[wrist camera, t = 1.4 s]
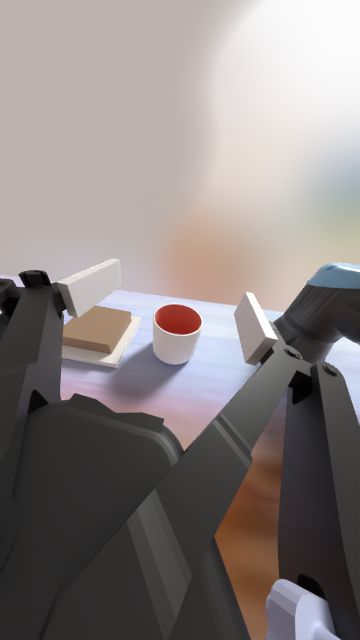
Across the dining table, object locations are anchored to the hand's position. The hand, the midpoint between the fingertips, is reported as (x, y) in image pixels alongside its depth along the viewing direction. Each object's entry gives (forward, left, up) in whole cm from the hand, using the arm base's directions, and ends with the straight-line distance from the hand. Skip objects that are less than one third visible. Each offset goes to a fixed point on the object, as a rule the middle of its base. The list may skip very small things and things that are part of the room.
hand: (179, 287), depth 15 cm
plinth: (+18, -8, -21) cm, 28 cm away
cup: (0, -8, -21) cm, 22 cm away
